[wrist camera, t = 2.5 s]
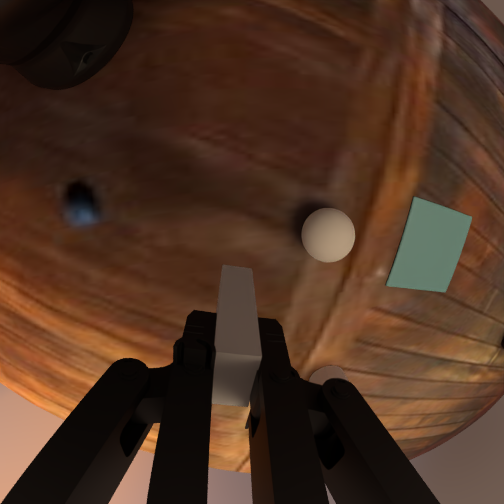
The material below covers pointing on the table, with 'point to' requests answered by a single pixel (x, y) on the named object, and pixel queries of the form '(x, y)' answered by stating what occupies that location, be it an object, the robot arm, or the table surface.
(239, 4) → the table surface
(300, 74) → the table surface
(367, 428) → the robot arm
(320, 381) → the white cylinder
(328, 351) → the table surface
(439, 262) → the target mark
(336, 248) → the ball
